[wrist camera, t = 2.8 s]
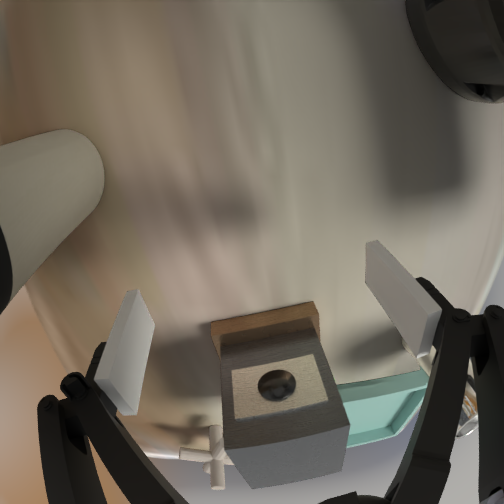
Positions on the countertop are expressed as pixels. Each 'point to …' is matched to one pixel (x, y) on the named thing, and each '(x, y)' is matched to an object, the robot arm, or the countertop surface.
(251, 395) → the mounted unit
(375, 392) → the tray
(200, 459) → the pipe connector
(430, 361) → the beer glass
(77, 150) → the travel mug
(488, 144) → the countertop surface
